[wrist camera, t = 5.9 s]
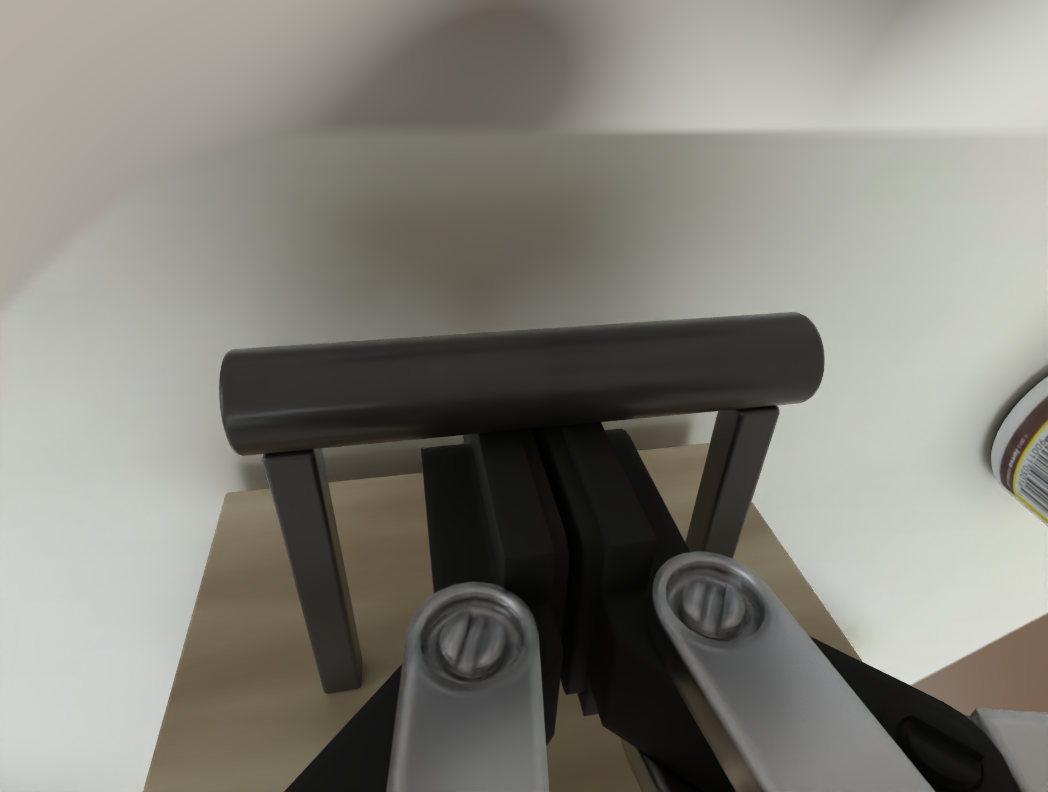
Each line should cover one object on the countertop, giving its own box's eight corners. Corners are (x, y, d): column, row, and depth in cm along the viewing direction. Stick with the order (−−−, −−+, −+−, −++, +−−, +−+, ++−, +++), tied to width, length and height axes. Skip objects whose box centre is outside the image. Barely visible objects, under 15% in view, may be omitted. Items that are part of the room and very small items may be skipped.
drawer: (136, 215, 10) (-236, 616, 4) (773, 195, 12) (1190, 444, 6) (315, 772, 21) (288, 1125, 15) (643, 713, 23) (745, 1001, 17)
